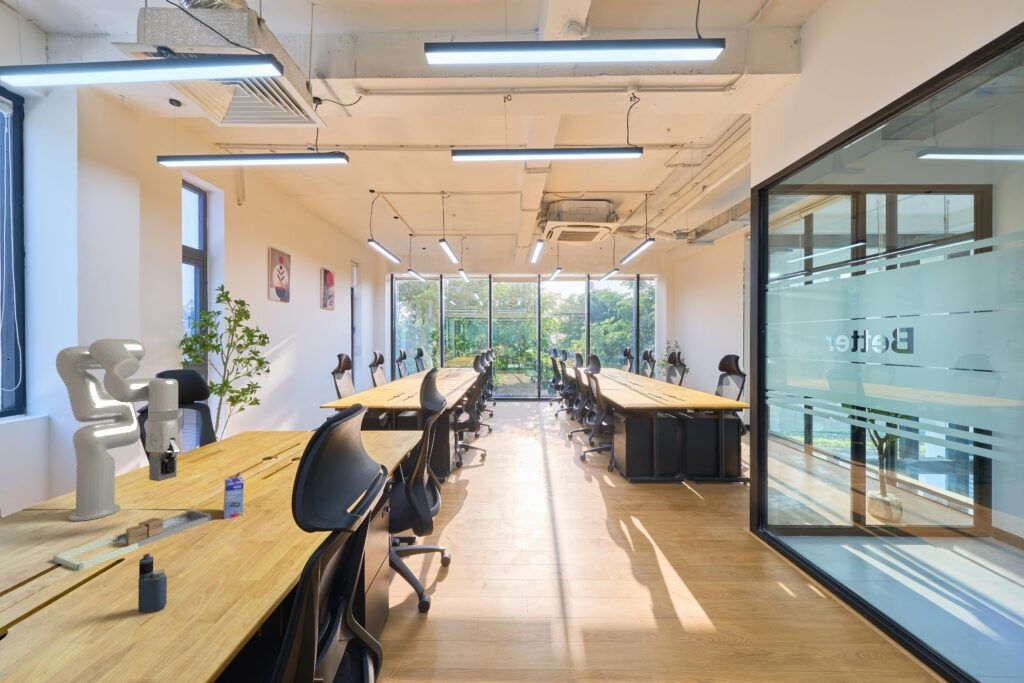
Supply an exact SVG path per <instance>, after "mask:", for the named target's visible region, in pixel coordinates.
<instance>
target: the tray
mask: <svg viewBox="0 0 1024 683" xmlns="http://www.w3.org/2000/svg"><path fill="white" fill-rule="evenodd" d="M114 542H115V536H114V535H112V536H108V537H106V538H102V539H100V540H96V541H93V542H91V543H88V544H85V545H81V546H78V547H75V548H72V549H70V550H69V549H68V550H65V551H63V552H60V553H57V554H54V555H52V558H53V559H52V561H53V562H54V563H56V564H57V563H58V564H60V565H63V566H65V567H69V568H71V569H74V570H75V571H76V570H77V571H81V570H84V569H87V568H90V567H93V566H95V565H97V564H101V563H103V562H106V561H108V560H111V559H114V558H116V557H119V556H122V555H124V554H127V553H130V552H133V551H136V550H138V548H139V547H138V543H135V544H132V545H130V546H128V545H127V546H124V547H122V548H118V549H116V550H113V551H110V552H108V553H105V554H103V555H99V556H96V557H94V558H91V559H88V560H85V561H83V562H81V561H78V560H75V559H72V558H69V557H72V556H75V555H79V554H81V553H83V552H84V553H85V552H87V551H90V550H92V549H95V548H99V547H102V546H104V545H107V544H110V543H114Z"/></svg>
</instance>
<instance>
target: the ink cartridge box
mask: <svg viewBox="0 0 1024 683" xmlns="http://www.w3.org/2000/svg"><path fill="white" fill-rule="evenodd" d="M240 474H241V473H240V472H239V471H238V472H237V474H236V475H235V477H228V478H225V479H224V490H223V491H224V494H223V510H222V511H223V512H222V513H223V519H224V520H227V519H232V518H238V517H242V516H243V513H244V512H243V509H244V507H243V506H244V484H245V483H244V480H243V476H240Z"/></svg>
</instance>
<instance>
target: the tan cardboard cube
mask: <svg viewBox="0 0 1024 683" xmlns="http://www.w3.org/2000/svg"><path fill="white" fill-rule="evenodd" d="M163 520H164V519H163V518H157V517H156V518H155V517H152V518H149V519H147V520H143V521H142V522H139V523H138V525H142V524H145V525H146V526H147V527H148V528H147V537H150V536H152V535H155V534H158V533H161V532H163Z"/></svg>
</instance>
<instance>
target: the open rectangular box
mask: <svg viewBox="0 0 1024 683" xmlns="http://www.w3.org/2000/svg"><path fill="white" fill-rule="evenodd" d="M211 521H212V514H211V513H208V512H203V511H198V510H193V509H188V510H186V512H183V513H181V514H178V515H174V516H172V517H169V518H168V517H167V518H165V519H163V532H161V533H158V534H155V535H152V536H150V537H147V538H144V539H141V540H138V541H135V543H138V548H140V547H143V546H146V545H149V544H151V543H153V542H156V541H159V540H162V539H164V538H168V537H170V536H172V535H176V534H179V533H181V532H183V531H186V530H189V529H191V528H194V527H196V526H200V525H202V524H205V523H209V522H211ZM115 542H118V543H120V544H124V545H127V546H128V544H127V543H126V532H123V533H120V534H117V535H115Z"/></svg>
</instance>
